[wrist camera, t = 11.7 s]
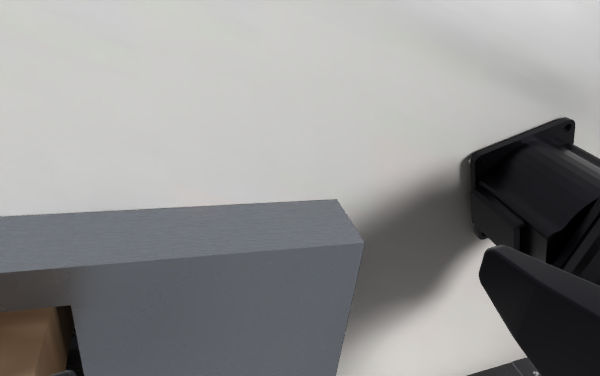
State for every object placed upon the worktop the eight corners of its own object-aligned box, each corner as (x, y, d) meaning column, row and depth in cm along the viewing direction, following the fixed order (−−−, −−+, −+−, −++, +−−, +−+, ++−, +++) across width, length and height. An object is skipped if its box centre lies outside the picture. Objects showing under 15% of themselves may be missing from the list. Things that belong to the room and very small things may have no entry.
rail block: (336, 199, 25) (364, 242, 21) (314, 328, 30) (334, 380, 26) (-163, 225, 18) (-231, 292, 15) (-87, 384, 23) (-127, 461, 20)
